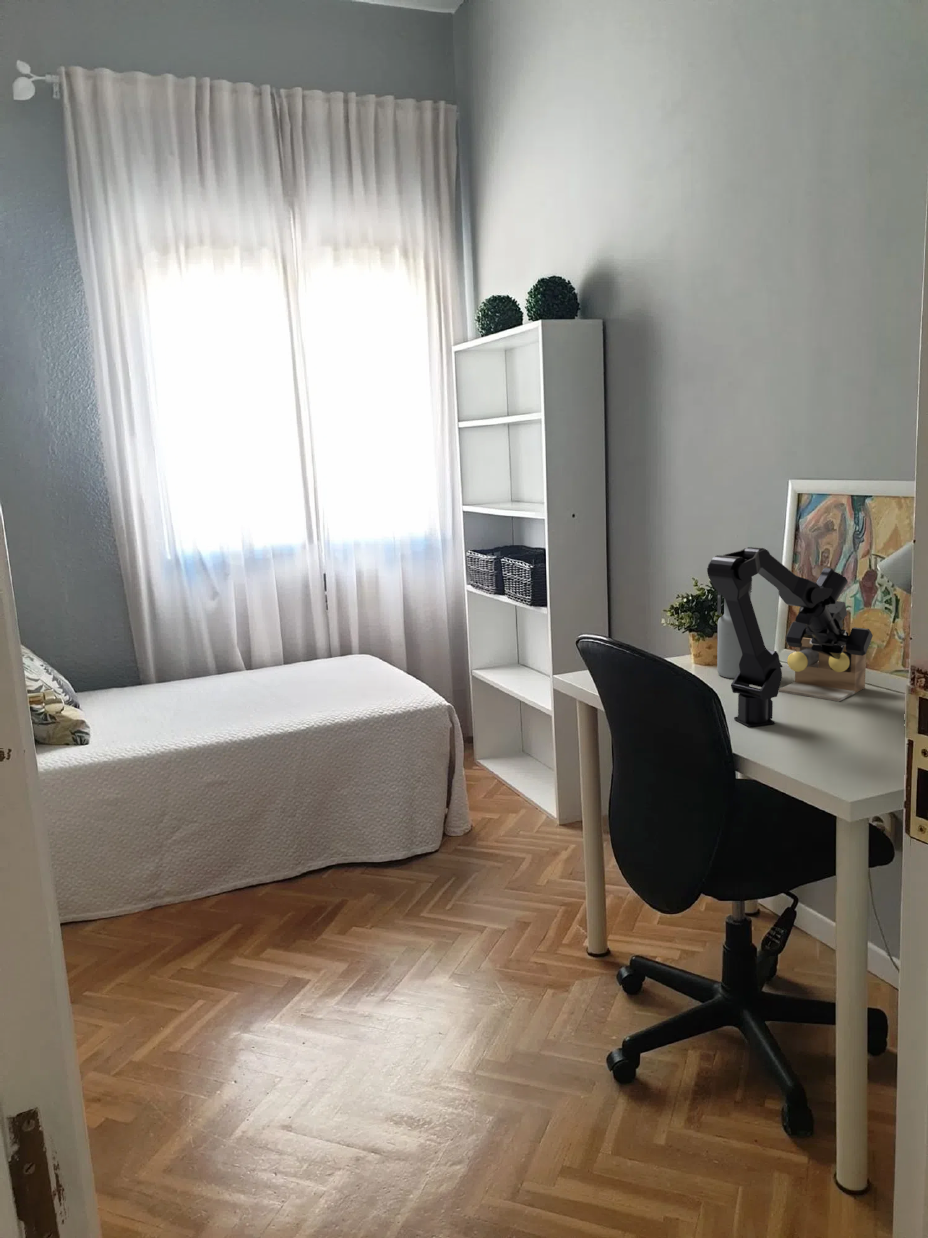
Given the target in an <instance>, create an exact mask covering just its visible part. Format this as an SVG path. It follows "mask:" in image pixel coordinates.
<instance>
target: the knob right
mask: <svg viewBox="0 0 928 1238" xmlns="http://www.w3.org/2000/svg"><path fill="white" fill-rule="evenodd" d="M829 665H830V667H831V668H832V669H833V670H834V671H836V672H843V671H845V670H847V669H848V668H849V667H851V654H850V653H848V652H844V651H843V652H842V653H841V656H840V658H839V659H835V658H833V657H829Z"/></svg>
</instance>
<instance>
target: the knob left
mask: <svg viewBox="0 0 928 1238" xmlns="http://www.w3.org/2000/svg"><path fill="white" fill-rule="evenodd" d="M817 662H819V652H817V651H813V650H812V649H811V647H810V648H807V649H804V650H802V651H799V652H796V651H794V652H791V653H790V654H789V655H788V656H787V666H788V668H789V669H791V670H792V671H793V672H795V671H796V672H800V671H802V670H804V669H805V668H806V667H809V666H811V665H813V664H815V663H817Z"/></svg>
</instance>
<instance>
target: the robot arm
mask: <svg viewBox="0 0 928 1238" xmlns="http://www.w3.org/2000/svg"><path fill="white" fill-rule="evenodd" d="M706 571H707V575H708V578H709V580H710V582H711V584H712V587H713V589H715V590H716V591H717V593H718V592H719V593H720V594H721V597H723V598H725V600H726V604H727V607H728V610H729V613H730V616H731V619H732V622H733V626H734V629H735V632H736V635H737V638H738V641H739V644H740V648H741V651H742V656H741V659H740V662H739V669H740V671H739V672H738V674H737V676H736V677H735V679H732V680H733V681H732V682H731V684H730V687H731V691H732V694H733V693H734V694H737V696H738V697H737V716H734V717H733V719H734V720H735V721H737V722H739V723H740V724H743V725H744V726H746V727H749V728H750V727H752V728H753V727H758V726H759V727H760V726H765V725H766V726H767V725H774V724H776V721H775V720H773V707H774V704H773V703H774V701H773V700H772V699H773V698H776V697H778V694H779V689H780V686H781V682H782V679H783V671H782V668H783V664H782V663H781V661H780V655H779V653H778V652H777V650H772V649H771V650H770V649H768V648H767V647H766V646H765V642H764V639H763V635H762V632H761V628H760V625H759V622H758V618H757V616H756V615H757V614H756V613H755V610H754V609H755V608H754V606H753V604H752V599H750V596H749V592H748V591H749V588H750V585H751V582H752V583H753V578H752V577H755V576H756V575H760V576H761V577H762V578H764V580H766V581H767V582H769V583H770V584H771V585H772V586H774V587H775V588H776V589H777V590H778V596H779V597H780V599H781V600H782V601H783V602H784V603H785V605H787V606H792V607H799V609H798V613H797V615H796V616H795V620H794V621H793V622H792V623H791V624H790V626H789V629H788V631H787V633H786V635H785V641H786V643H787V645H788V647H790V648H791V647H793V648H796V647H798V648H800V647H801V646H802V643H801V641H802V639H803V638H811V640H810V644H812V647H811V649H812V650H813V651H817V652H820V653H823V654H825V655H828V656H830V657H833V658H835V659H839V658H840V656H841V653H842V652H843V649H844V647H845V646H846V651H847V652H848V653H850V654H853V655H861V656H863V655H865V654H866V655H867V651H868V649H869V647H870V644H871V641H872V638H873V634H872V631H871V630H870V629H869V628H863V627H862V628H861V627H852V628H851V630H850V633H849V632H848V631H847V630H846V629H843V626H844V624H843V620H844V619H845V617H847V616H848V610H847V605H846V602H844V601H840V600H839V598H840V596H841V594H842V593H843V591H844V590H845V588H846V587H847V585H848V579H847V577H846V576H843V575H842V574H841V573H839V572H837V571H834V570H833V568H829V567H824V568H823V569H822V570H821V572H820V573H821V574H820V575H819V576H818V579H817V580H816V582H815V581H813V580H811V579H808V578H805V577H802V576H800V575H799V576H798V575H796V574H795V573H794V572H793V571H791V570H790V569H789V568H788V567H786V566H785V565H784V564H783V563H781V562H780V561H779V560H778V559H777V558H775V557H774V556H773V555H772V554H771V553H770V551H769V550H768V549H766V548H765V547H764V548H763V547H756V546H755V547H754V546H753V547H752V546H748V547H746V548H743V549H741V550H738V551H734V552H730V553H725V554H723V555H722V554H721V555H720V554H719V555H717V554H716V555H715V556H713V557H712V559H711V560H710V561H709V563H708V565H707V568H706ZM838 600H839V601H838ZM753 686H754V687H753ZM758 687H759V688H758Z"/></svg>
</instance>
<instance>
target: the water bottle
mask: <svg viewBox="0 0 928 1238" xmlns="http://www.w3.org/2000/svg"><path fill="white" fill-rule="evenodd" d="M752 584H753V581H752V582H751V585H750V588H749V591H748V592H749V596H750V599H751V595H752V594H751V593H752V592H753V590H752V589H753V588H752V587H753V585H752ZM723 598H724V597H723ZM723 600H724V601H723V602H724V603H723V605H724V606H723V608H724V610H723V612H724V613H723V615H721V611H722V595H721V594H720V593H719V592H718V591H717V616H720V615H721V616H720V617H719V618H718V620H717V647H716V649H717V653H716V654H717V656H716V657H717V658H716V659H717V663H716V665H717V668H716V671H717V674H718V675H719V676H721V678H722V677H723V678H727V679H732V680H734V679H735V677H736V676H737V674H738V672H739V671H740V669H739V662H740V659H741V656H742V651H741V648H740V644H739V641H738V638H737V635H736V632H735V629H734V626H733V622H732V619H731V616H730V613H729V610H728V607H727V604H726V600H725V598H724V599H723ZM751 600H752V599H751Z"/></svg>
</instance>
